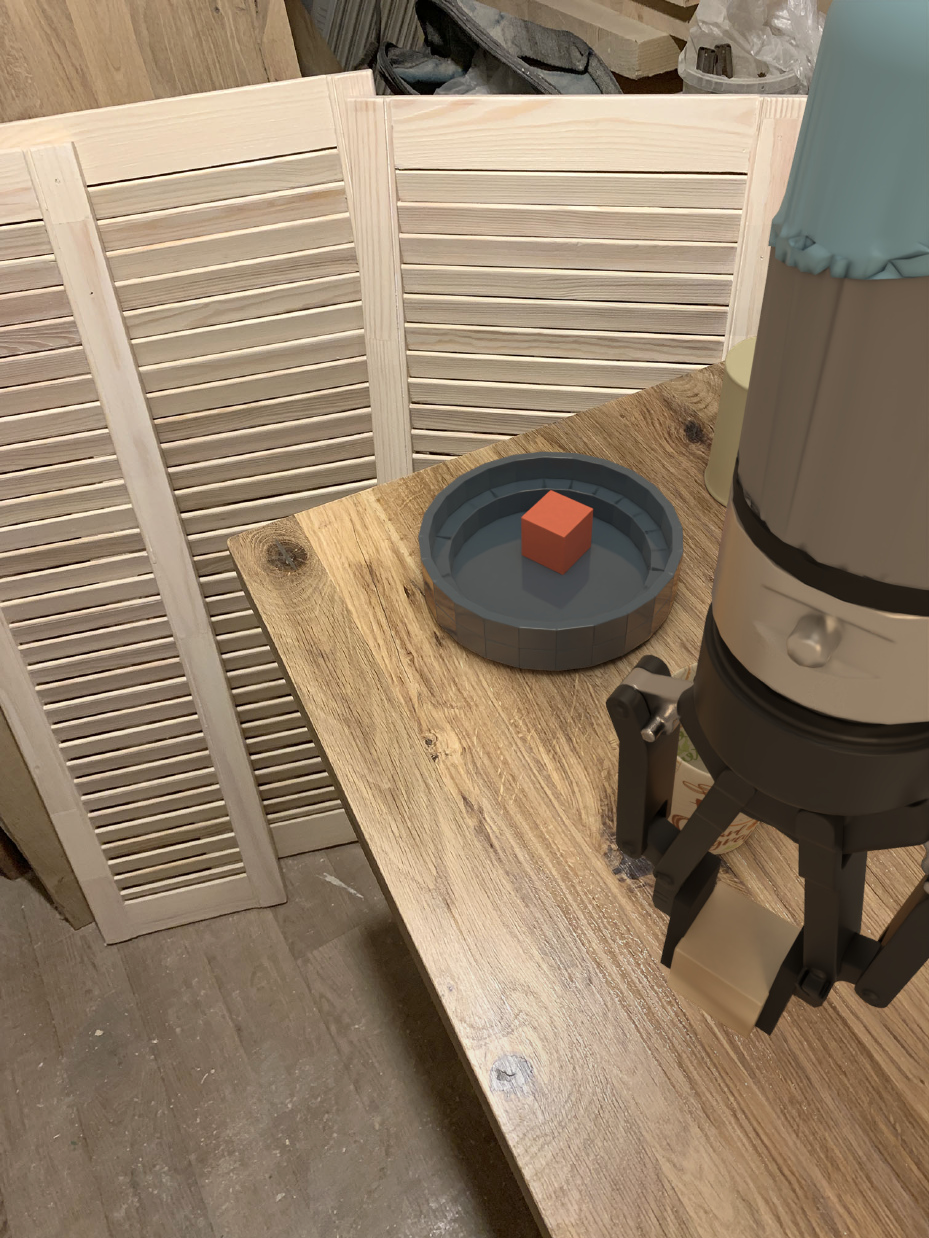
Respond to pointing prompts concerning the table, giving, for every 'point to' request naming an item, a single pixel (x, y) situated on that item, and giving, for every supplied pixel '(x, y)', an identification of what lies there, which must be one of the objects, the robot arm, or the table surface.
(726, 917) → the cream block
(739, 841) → the mug
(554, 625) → the bowl
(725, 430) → the can
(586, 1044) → the table surface
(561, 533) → the coral block
